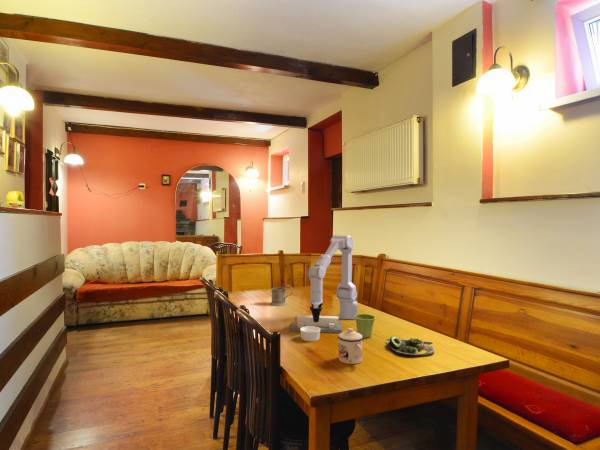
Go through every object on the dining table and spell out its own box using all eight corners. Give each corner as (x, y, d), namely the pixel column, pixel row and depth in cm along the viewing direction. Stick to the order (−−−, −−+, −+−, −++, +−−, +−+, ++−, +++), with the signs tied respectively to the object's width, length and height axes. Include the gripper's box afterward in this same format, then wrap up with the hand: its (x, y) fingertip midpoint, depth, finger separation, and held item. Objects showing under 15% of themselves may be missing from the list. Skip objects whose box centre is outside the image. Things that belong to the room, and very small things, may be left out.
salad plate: (421, 340, 159) (421, 330, 159) (447, 355, 142) (447, 343, 142) (380, 343, 155) (380, 332, 155) (401, 359, 138) (401, 347, 137)
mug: (267, 305, 221) (267, 285, 221) (274, 301, 230) (274, 282, 230) (289, 307, 216) (289, 287, 215) (295, 303, 225) (296, 284, 224)
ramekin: (316, 343, 155) (316, 332, 154) (297, 340, 158) (297, 330, 158) (322, 336, 163) (322, 327, 163) (304, 334, 166) (304, 325, 166)
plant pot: (376, 333, 167) (376, 314, 167) (373, 340, 158) (374, 320, 158) (356, 331, 170) (356, 313, 170) (352, 338, 161) (352, 318, 161)
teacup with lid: (333, 357, 138) (333, 326, 138) (354, 354, 142) (354, 324, 142) (350, 369, 127) (350, 336, 127) (372, 365, 131) (372, 332, 131)
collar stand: (341, 325, 180) (341, 318, 180) (342, 333, 168) (342, 325, 168) (292, 323, 182) (292, 316, 182) (289, 331, 170) (289, 323, 170)
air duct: (338, 324, 176) (338, 316, 176) (338, 327, 172) (338, 318, 172) (294, 323, 178) (294, 314, 178) (293, 325, 174) (293, 316, 174)
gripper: (309, 288, 182) (309, 315, 182) (307, 294, 168) (306, 323, 168) (323, 288, 182) (323, 315, 182) (322, 294, 167) (322, 324, 167)
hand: (316, 319), depth 175 cm, fingers open, 7 cm apart
